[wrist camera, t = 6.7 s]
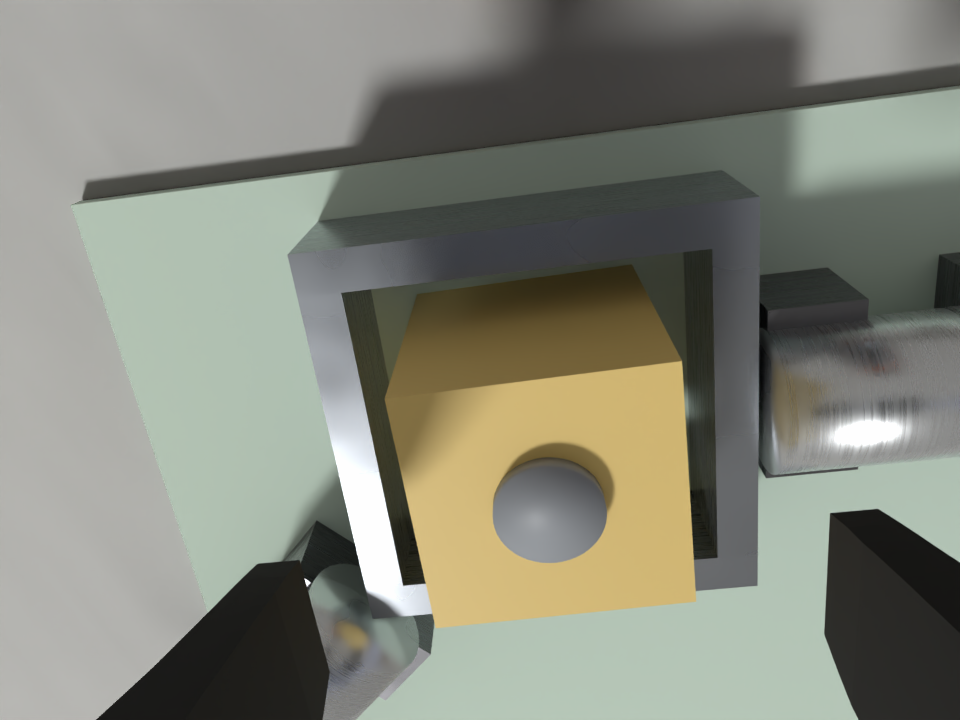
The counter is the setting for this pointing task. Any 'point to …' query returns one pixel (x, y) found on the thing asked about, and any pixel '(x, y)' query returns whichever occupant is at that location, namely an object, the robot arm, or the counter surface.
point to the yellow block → (544, 448)
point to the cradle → (531, 246)
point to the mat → (505, 173)
